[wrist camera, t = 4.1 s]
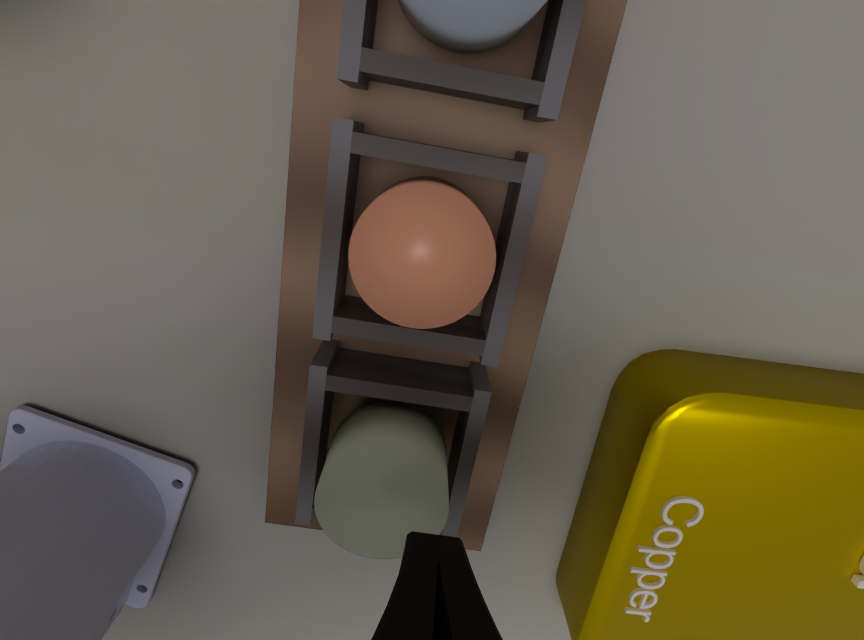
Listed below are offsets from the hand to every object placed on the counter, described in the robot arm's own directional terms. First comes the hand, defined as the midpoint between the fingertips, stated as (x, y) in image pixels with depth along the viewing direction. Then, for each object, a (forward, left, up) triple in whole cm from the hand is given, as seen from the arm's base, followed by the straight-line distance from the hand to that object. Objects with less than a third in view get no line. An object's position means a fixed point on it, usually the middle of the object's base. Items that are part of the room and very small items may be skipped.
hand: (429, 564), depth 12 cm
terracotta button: (+6, +3, -8) cm, 10 cm away
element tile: (0, -16, -10) cm, 19 cm away
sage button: (-2, +1, -6) cm, 7 cm away
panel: (+6, +3, -9) cm, 12 cm away
